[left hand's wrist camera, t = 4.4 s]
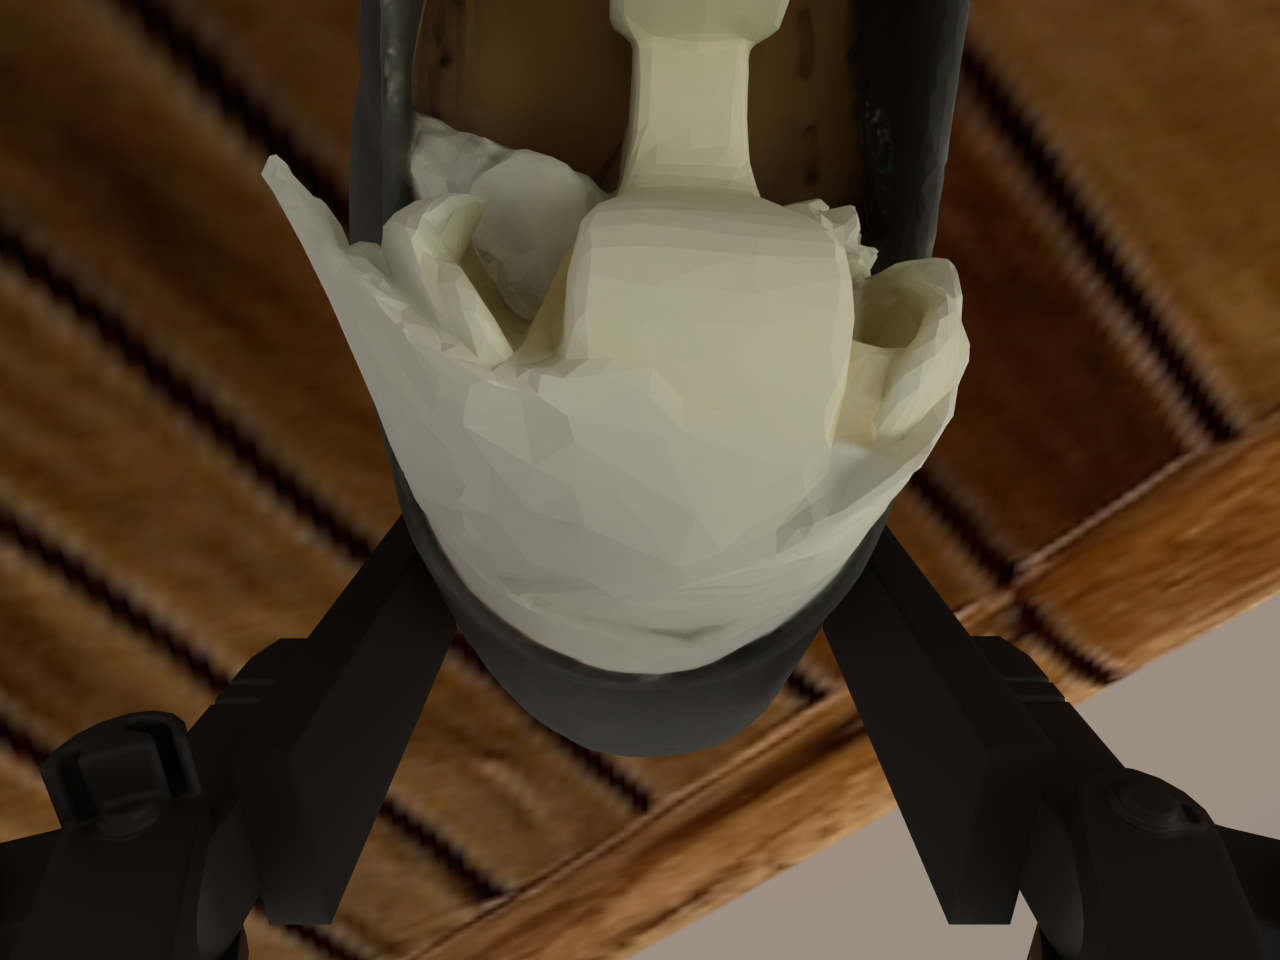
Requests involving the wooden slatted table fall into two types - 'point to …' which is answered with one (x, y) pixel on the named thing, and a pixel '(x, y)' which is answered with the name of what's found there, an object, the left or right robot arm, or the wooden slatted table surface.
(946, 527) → the wooden slatted table surface
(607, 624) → the ballet flat
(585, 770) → the wooden slatted table surface
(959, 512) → the wooden slatted table surface
